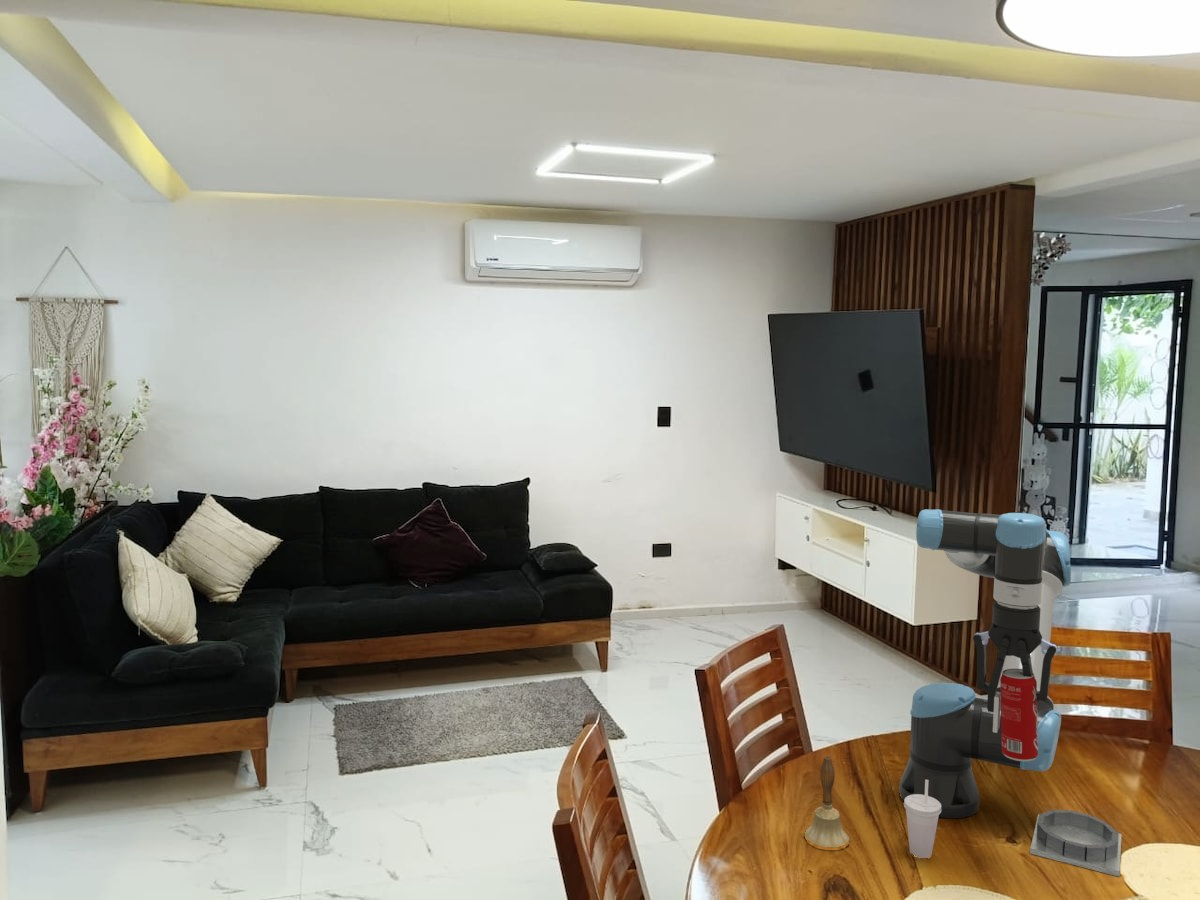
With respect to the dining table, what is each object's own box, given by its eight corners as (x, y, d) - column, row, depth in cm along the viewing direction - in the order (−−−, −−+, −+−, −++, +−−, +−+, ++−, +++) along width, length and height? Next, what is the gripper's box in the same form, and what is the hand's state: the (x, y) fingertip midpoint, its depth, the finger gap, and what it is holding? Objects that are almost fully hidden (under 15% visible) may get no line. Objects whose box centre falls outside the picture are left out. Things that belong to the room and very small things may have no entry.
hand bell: (824, 856, 163) (827, 771, 161) (794, 834, 170) (796, 753, 168) (859, 844, 166) (862, 761, 165) (828, 823, 174) (830, 744, 172)
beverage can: (1039, 765, 155) (1044, 681, 153) (998, 759, 157) (1002, 676, 155) (1035, 750, 161) (1039, 669, 159) (995, 745, 163) (999, 665, 161)
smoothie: (935, 867, 159) (938, 791, 157) (897, 856, 162) (900, 782, 161) (942, 850, 164) (946, 776, 163) (906, 840, 168) (909, 768, 166)
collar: (1030, 853, 163) (1031, 835, 163) (1037, 819, 175) (1038, 801, 175) (1119, 876, 156) (1120, 857, 156) (1121, 839, 168) (1122, 821, 168)
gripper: (961, 601, 158) (955, 729, 161) (1069, 616, 149) (1061, 751, 152) (968, 591, 164) (962, 715, 167) (1072, 605, 156) (1065, 735, 158)
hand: (1009, 732), depth 159 cm, fingers closed on beverage can, 4 cm apart
